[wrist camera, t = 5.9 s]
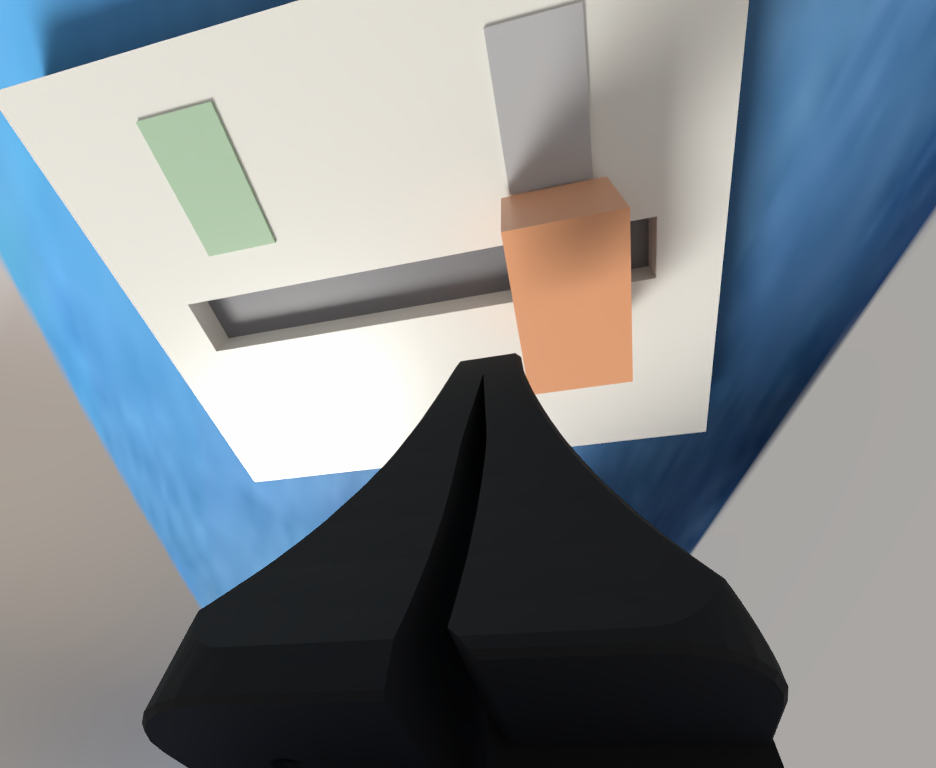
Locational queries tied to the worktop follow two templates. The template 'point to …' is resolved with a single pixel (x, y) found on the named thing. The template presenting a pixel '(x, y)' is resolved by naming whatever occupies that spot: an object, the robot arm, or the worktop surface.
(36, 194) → the worktop surface
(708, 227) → the white flat board
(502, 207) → the switch
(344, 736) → the robot arm
